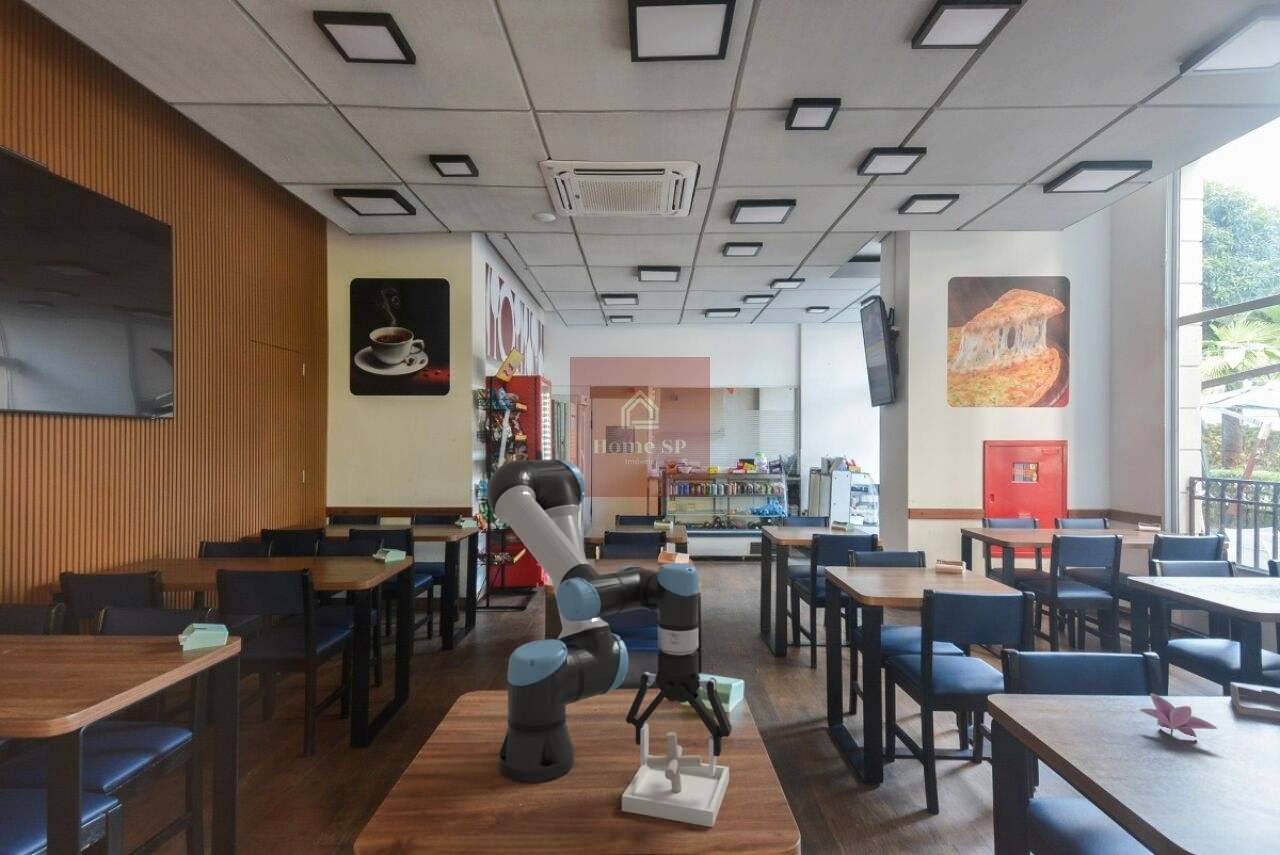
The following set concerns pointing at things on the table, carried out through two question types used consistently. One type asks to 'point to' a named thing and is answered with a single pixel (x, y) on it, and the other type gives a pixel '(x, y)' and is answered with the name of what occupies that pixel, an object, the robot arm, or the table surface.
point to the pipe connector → (674, 761)
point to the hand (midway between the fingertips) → (677, 767)
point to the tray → (677, 794)
